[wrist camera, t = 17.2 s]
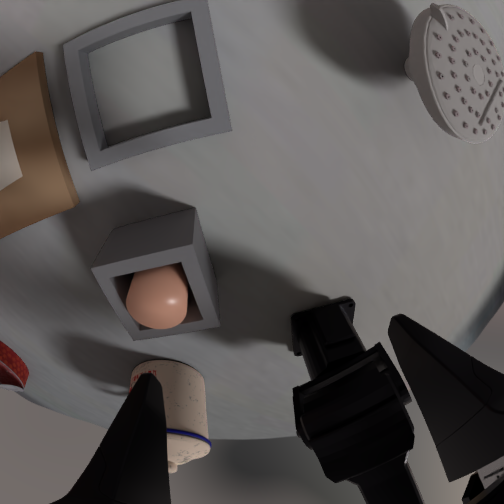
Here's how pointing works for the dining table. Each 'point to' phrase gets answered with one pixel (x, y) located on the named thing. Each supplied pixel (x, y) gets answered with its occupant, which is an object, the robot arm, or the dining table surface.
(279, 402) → the dining table surface
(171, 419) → the teacup with lid
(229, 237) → the dining table surface
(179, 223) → the housing
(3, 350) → the canned food
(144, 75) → the dining table surface
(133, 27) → the collar
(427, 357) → the robot arm
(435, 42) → the showerhead
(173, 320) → the pink ball
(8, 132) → the cartridge
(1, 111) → the pad
